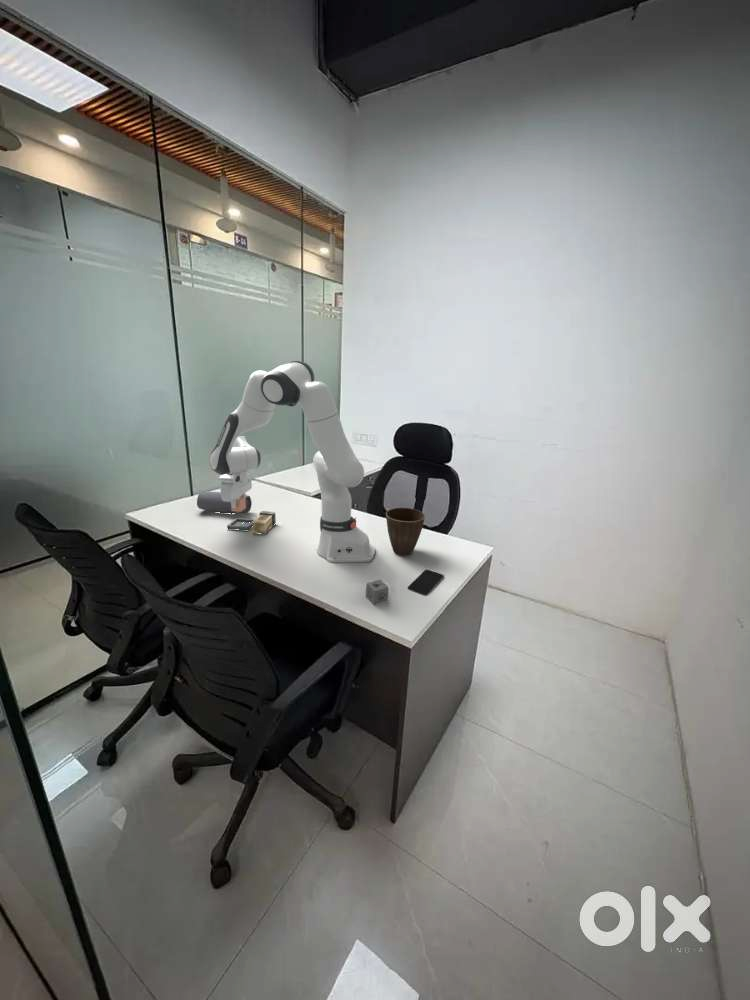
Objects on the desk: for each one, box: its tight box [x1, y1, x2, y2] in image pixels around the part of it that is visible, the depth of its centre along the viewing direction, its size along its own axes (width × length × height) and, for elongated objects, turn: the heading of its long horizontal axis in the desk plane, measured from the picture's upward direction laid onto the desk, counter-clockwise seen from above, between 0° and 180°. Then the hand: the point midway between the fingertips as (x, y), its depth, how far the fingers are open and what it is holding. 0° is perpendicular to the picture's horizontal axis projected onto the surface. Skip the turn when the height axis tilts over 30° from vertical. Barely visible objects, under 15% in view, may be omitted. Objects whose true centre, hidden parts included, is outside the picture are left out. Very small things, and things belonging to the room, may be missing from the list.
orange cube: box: [231, 497, 246, 512], centre depth 155 cm, size 5×4×5 cm
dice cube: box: [365, 579, 390, 606], centre depth 112 cm, size 5×5×5 cm
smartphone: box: [407, 569, 445, 597], centre depth 124 cm, size 7×1×15 cm
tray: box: [226, 517, 256, 531], centre depth 159 cm, size 9×9×2 cm
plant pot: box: [385, 507, 426, 557], centre depth 142 cm, size 15×15×16 cm
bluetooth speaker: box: [196, 491, 252, 514], centre depth 172 cm, size 23×9×10 cm, turn 84°
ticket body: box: [252, 510, 277, 535], centre depth 157 cm, size 6×12×6 cm, turn 176°
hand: (238, 505), depth 155 cm, fingers closed on orange cube, 5 cm apart
